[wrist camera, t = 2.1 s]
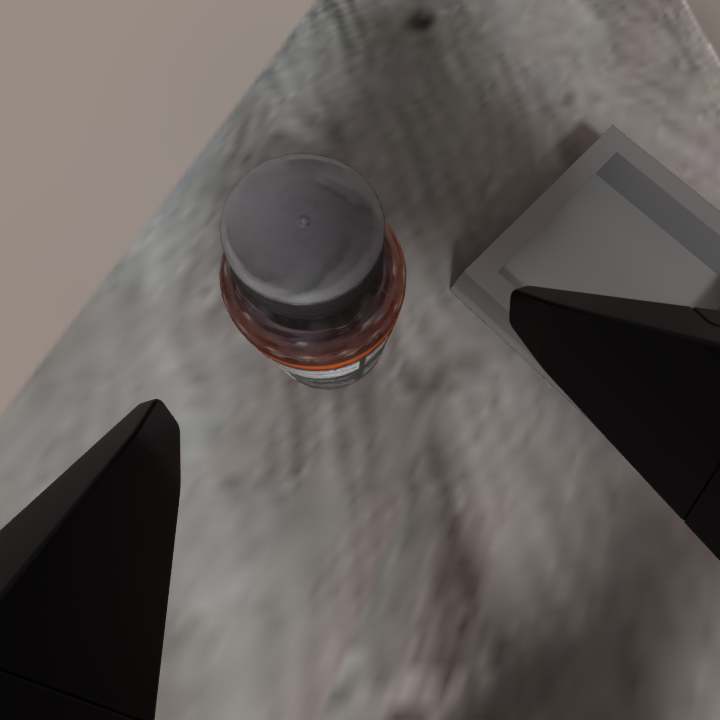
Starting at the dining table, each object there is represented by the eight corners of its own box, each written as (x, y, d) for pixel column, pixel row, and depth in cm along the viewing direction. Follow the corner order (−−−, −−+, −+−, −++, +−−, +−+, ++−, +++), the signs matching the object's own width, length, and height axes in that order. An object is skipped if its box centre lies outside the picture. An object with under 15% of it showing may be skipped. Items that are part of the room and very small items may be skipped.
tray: (747, 294, 21) (801, 276, 18) (621, 449, 19) (662, 452, 16) (583, 158, 22) (612, 124, 20) (449, 290, 20) (463, 271, 18)
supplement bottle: (290, 275, 20) (219, 87, 9) (393, 299, 20) (449, 140, 9) (260, 378, 19) (139, 307, 8) (370, 403, 19) (401, 369, 8)
